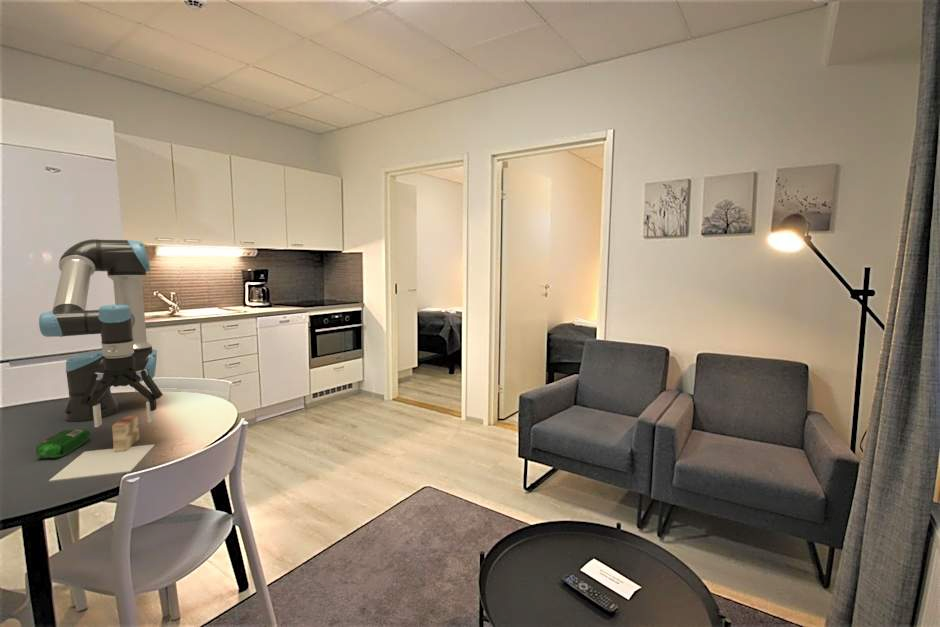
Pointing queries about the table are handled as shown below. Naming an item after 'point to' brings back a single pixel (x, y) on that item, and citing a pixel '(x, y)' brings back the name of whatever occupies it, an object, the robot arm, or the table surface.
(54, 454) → the snack package
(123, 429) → the oak slab
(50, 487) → the table surface
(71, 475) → the cream board
